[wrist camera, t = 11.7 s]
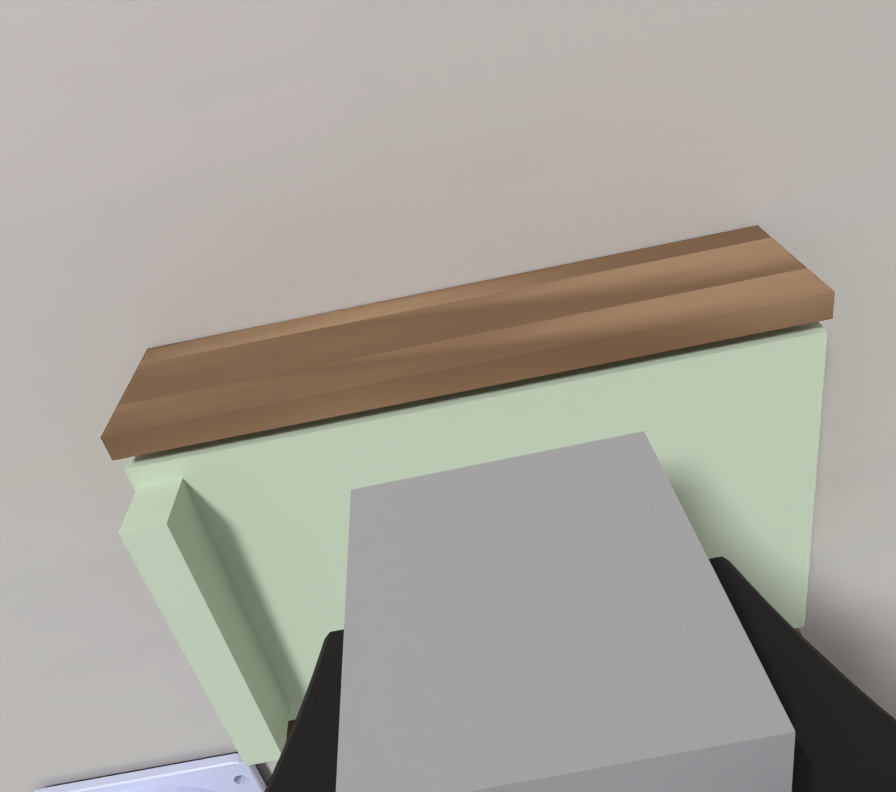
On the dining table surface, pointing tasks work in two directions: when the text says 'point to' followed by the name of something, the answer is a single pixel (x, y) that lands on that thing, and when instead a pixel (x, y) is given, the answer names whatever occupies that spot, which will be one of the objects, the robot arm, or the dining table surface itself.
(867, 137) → the dining table surface
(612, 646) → the block
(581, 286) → the walnut box
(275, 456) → the sage lid
